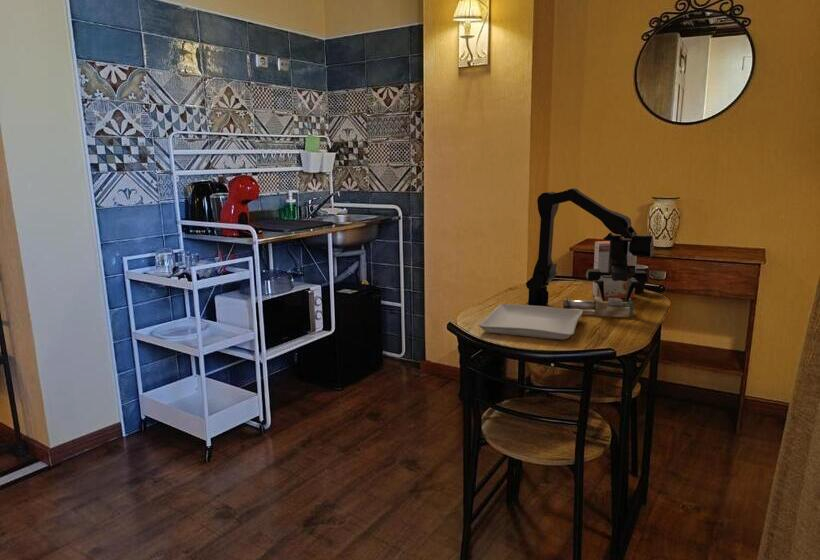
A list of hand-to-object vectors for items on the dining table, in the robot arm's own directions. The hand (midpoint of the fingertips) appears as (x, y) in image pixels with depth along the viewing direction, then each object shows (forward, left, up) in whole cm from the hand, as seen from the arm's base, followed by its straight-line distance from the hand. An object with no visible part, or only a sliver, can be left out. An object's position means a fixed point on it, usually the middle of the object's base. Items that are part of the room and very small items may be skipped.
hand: (614, 300), depth 190 cm
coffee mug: (+12, +36, -5) cm, 38 cm away
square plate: (-27, -19, -5) cm, 33 cm away
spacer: (0, 0, -4) cm, 4 cm away
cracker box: (+3, +25, -5) cm, 26 cm away
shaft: (-10, 0, -5) cm, 11 cm away
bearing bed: (-5, 0, -5) cm, 7 cm away
